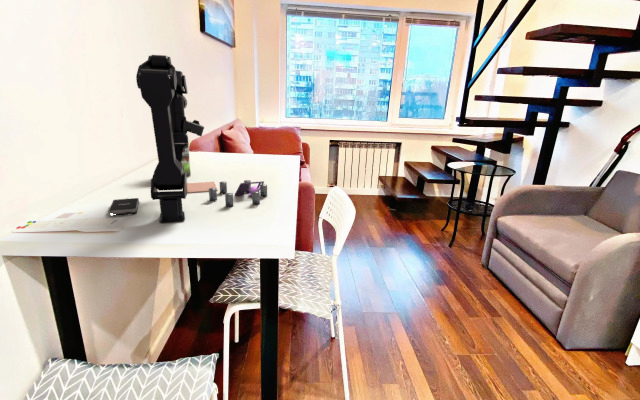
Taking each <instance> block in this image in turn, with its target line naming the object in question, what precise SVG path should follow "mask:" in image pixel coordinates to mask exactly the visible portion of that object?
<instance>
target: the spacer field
mask: <svg viewBox="0 0 640 400" xmlns="http://www.w3.org/2000/svg"><path fill="white" fill-rule="evenodd" d="M249 182H252V181H251V180H249V179H245V180H243V183H249ZM227 185H228V183H227V181H220V182H219V193H220V194H221V195H224V197H225V198H224V199H225V201H224V202H225V207H226V208H233V207H234V193H233V192H228V186H227ZM251 187H252V184H249V186H248V188H247V189H246V191H245V193H246V192H247V191H250V188H251ZM216 188H217V187H216ZM216 188H209V192H208V198H209V202H217V201H218V195H217V194H218V193H217V192H218V191H217V190H218V189H217V190H216ZM259 188H260V190H259V191H253V192H252V196H251V197H252V198H251V199H252V202H251V203H252V205H253V206H257V205H260V204H261V202H260V201H261V198H267V197H268V185H267V184H263V185H260V187H259ZM260 196H261V197H260ZM266 196H267V197H266Z"/></svg>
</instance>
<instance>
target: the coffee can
mask: <svg viewBox="0 0 640 400" xmlns="http://www.w3.org/2000/svg"><path fill="white" fill-rule="evenodd" d="M189 148H190V146H189V142H188V144H187V145H186V146H185V147H184V148H183V154H182V161H181V163H182V166H183V172H184V174H186V179H188V178H190V177H191V176H192V174H191V164H190V160H191V159H190V149H189Z"/></svg>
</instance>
